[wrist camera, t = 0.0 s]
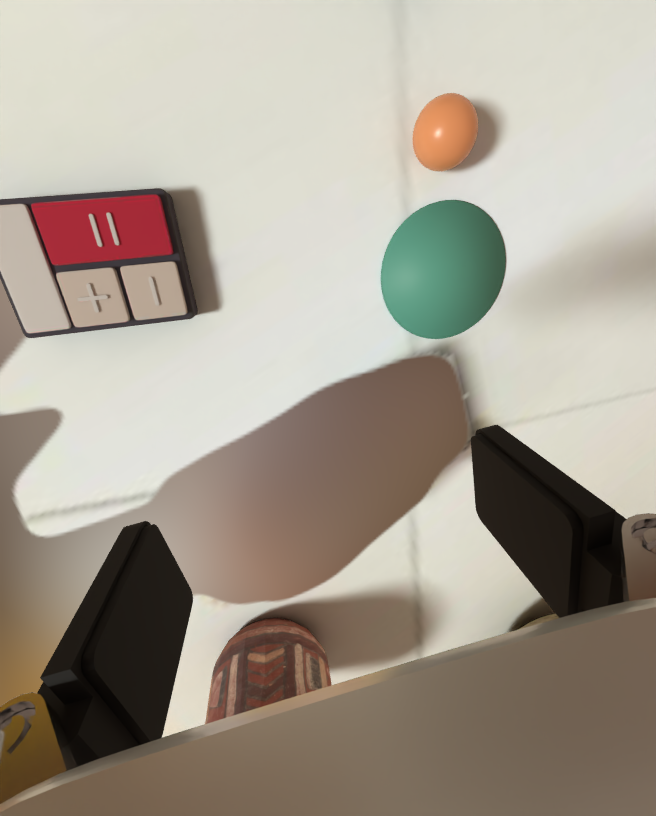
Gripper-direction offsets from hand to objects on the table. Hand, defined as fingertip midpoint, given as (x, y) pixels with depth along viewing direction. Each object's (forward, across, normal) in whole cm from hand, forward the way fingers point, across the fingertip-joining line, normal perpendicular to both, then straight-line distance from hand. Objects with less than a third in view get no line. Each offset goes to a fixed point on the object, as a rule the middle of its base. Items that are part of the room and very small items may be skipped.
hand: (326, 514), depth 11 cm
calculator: (+32, +15, -10) cm, 37 cm away
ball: (+28, -18, -14) cm, 36 cm away
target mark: (+31, -18, -2) cm, 36 cm away
